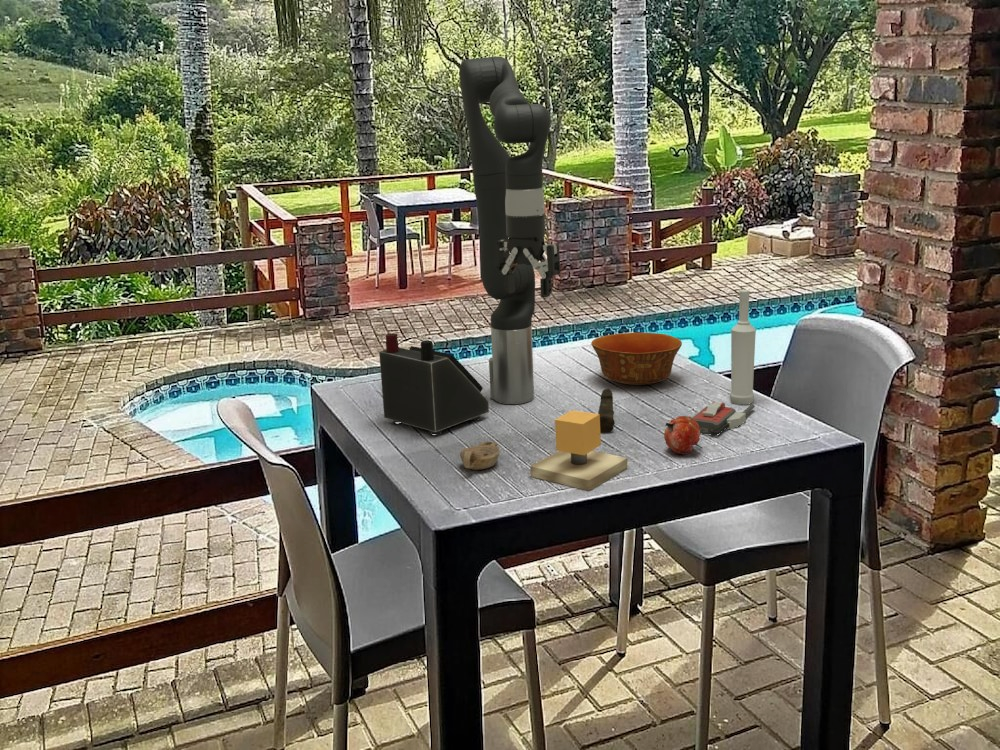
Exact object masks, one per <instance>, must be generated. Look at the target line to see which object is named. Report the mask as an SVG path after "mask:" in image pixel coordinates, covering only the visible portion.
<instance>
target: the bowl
mask: <svg viewBox="0 0 1000 750" xmlns="http://www.w3.org/2000/svg"><path fill="white" fill-rule="evenodd" d="M590 344H591V346H592V348H593V350H594V352H595V354H596V355H597V358H598V361H599V364H600V371H601V373H602V374H603V376H604V377H605V378H607V379H609V380H611V381H612V382H613V381H614V382H617V383H620V384H624V385H629V386H630V385H631V386H632V385H633V386H634V385H635V386H640V385H641V386H643V385H651V384H656V383H659V382H663V381H665V380H666V379H667V378H669V377H670V375H671V372H672V368H673V365H674V360H675V359H676V356H677V354H678V352H679V351H680V349H681V347H682V344H683V342H682V340H681V339H680V338H677V337H675V336H672V335H669V334H665V333H658V332H657V333H655V332H623V333H615V334H607V335H604V336H603V335H602V336H600V337H596V338H594V339H592V341H591V343H590Z"/></svg>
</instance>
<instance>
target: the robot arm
mask: <svg viewBox="0 0 1000 750" xmlns="http://www.w3.org/2000/svg"><path fill="white" fill-rule="evenodd" d="M458 75H459V85H460V91H461V98H462V104H463V109H464V115H465V120H466V124H467V125H466V127H467V131H468V132H467V133H468V139H469V149H470V158H471V159H470V160H471V168H472V169H471V170H472V179H473V180H472V181H473V187H474V195H475V201H476V209H477V211H476V212H477V219H478V220H477V221H478V229H479V241H480V243H479V244H480V245H479V246H480V247H479V248H480V251H479V254H480V275H481V282H482V286H483V288H484V290H485V292H486V294H487V295H488V296H489V297H491V298H492V299H494V300H498V301H499V303H498V305H497V307H496V308H495V310H494V311H493V312H492V313H491V315H490V333H491V334H490V336H491V357H489V359H488V370H489V371H488V372H489V374H488V375H489V390H490V392H489V393H490V394H489V395H490V399H491V400H494V401H495V402H497V403H499V404H505V405H519V404H525V403H529V402H531V401H533V400H534V399H535V387H534V386H535V385H534V382H535V381H534V379H535V378H534V377H535V376H534V356H533V354H534V353H533V350H534V349H533V331H532V330H533V329H532V327H533V326H532V325H533V324H532V322H533V321H532V320H533V319H532V318H533V315H534V314H535V307H536V274H535V270H536V271H537V273H538V274H539V276H540V277H541V278H540V281H539V282H540V283H539V284H540V297H541V298H542V299H543V298H544V299H545V298H548V297H550V296H551V294H552V292H553V288H552V287H553V285H552V284H553V281H552V279H553V277H554V276H558V275H560V274H561V273H562V271H561V270H562V269H561V256H560V246H559V244H558V243H551V244H550V243H549V244H546V243H545V235H546V211H545V210H546V209H545V208H546V207H545V195H544V189H543V188H544V186H543V185H544V182H543V164H544V163H543V162H544V155H545V149H546V145H547V140H548V139H549V138H548V137H549V134H550V130H551V129H550V128H551V115H550V113H549V110H548V109H547V108H546V107H545V105H543V104H540V103H529V101H528V100H527V98H526V97H525V96H524V95H523V93H522V92H521V91H520V88H519V85H518V82H517V78H516V76H515V73H514V70H513V66H512V65H511V63H510V61H508V59H506V58H505V57H502V56H488V57H487V56H486V57H480V58H469V59H465V60H463V61H461V63H460V65H459V73H458ZM486 103H488V105H489V110H490V112H491V114H492V116H493V117H494V121H493V122H494V123H493V128H494V133H495V135H494V134H493V132H492V130H491V129H490V127H489V126H488V124H487V122H486V121H485V118H484V116H483V112H482V110H481V107H480V104H486ZM501 143H504V144H510V145H511V144H527V143H528V144H529V143H530V144H529V146H528V148H527V150H526V151H524V152H523V153H522V154H518V155H515V156H511V155H510V153H509V152H508V151H507V150H506V149H505V147H504V146H503V145H502V144H501ZM544 254H545V255H546V256H545V255H544Z"/></svg>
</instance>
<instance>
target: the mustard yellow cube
mask: <svg viewBox="0 0 1000 750" xmlns="http://www.w3.org/2000/svg"><path fill="white" fill-rule="evenodd" d="M554 429H555V430H554V431H555V444H556V445H555V448H556V451H557V452H558V451H562V452H568V453H573V454H579V455H586V454H588V453H589V452H591V451H592V450H593V451H595V449H597V448H598V447H600V446H601V445H602V440H601V439H602V437H601V436H602V435H601V433H600V414H598V413H591V412H586V411H579V410H569V411H568V412H566V413H565V414H563V415H561V416H559V417H557V418H556V419H554Z"/></svg>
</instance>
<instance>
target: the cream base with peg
mask: <svg viewBox="0 0 1000 750" xmlns="http://www.w3.org/2000/svg"><path fill="white" fill-rule="evenodd" d="M529 469H530V470H529V471H530V472H529V473H530V475H529V476H530V477H532V478H535V479H539V480H542V481H543V480H544V481H548V482H551V483H552V482H553V483H555V484H561V485H565V486H568V487H571V488H572V487H573V488H577V489H581V490H584V491H591V490H593V489H595V488H596V487H598V486H600V485H601V484H603V483H605V482H607V481H609V480H610V479H611V478H614V477H615V476H617V475H618V474H620V473H622V472H623V471H625V470H627V469H628V457H624V456H619V455H615V454H610V453H605V452H601V451H596V450H592V451H591V452H589V453H588V454H586V455H579V454H573V453H568V452H562V451H557V452H555V453H553V454H551V455H549V456H547V457H546V458H543V459H541V460H540V461H537V462H535V463H533V464H532V465H530V467H529Z"/></svg>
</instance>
